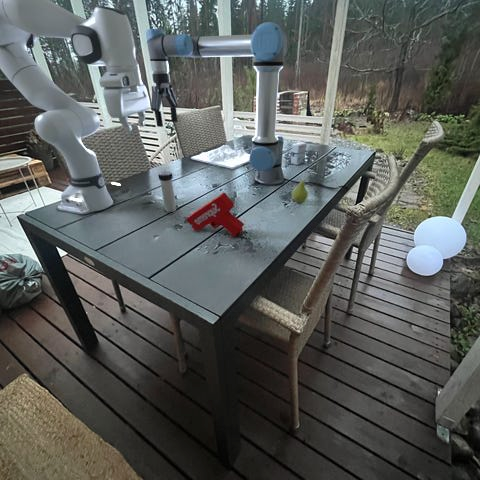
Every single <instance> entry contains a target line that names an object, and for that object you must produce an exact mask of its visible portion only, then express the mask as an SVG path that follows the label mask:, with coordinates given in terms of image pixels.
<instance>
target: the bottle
mask: <svg viewBox="0 0 480 480" xmlns="http://www.w3.org/2000/svg"><path fill="white" fill-rule="evenodd" d="M159 182H160V186H161V192H162V198H163V204H164V210H165V212H167V213H174V212H176V211H177V203H176V197H175V190H174V185H173V183H174V182H173V178H172V179H171V180H166V181H162V180H160V179H159Z"/></svg>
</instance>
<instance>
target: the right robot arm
mask: <svg viewBox="0 0 480 480" xmlns="http://www.w3.org/2000/svg"><path fill="white" fill-rule="evenodd" d="M145 36H146V46H147V50H148V55H149V63H150V69H151V72H152V74H151V76H152V83H153V84H155V85H152V86H151V99H150V100H151V102H150V110H151V111H152V112H154V117H155V121H156V127H158V128H163V127H164V123H163V116H162V111H161V106H162V102H163V99H164V98H166V100H167V102H168V103H169V106H170V109H169V110H170V116H171V117H170V118H171V122H172V123H173V122H174V123H178V122H179V121H178V114H177V108H178V107H179V102H178V99H177V97H176V94H175V91H174V87H173V84H170V83H171V75H170V73H169V72H170V68H169V60H168V57H175V58H176V57H177V58H178V57H179V58H180V57H182V58H211V57H212V58H218V57H219V58H220V57H221V58H222V57H224V58H225V57H226V58H227V57H229V58H230V57H253V68H254V69H255V71H256V107H255V108H256V110H255V135H254V136H253V137H252V139H251V151H250V153H249V154H250V156H249V160H250V162H249V163H250V166H251V167H252V168H253V169H254V170H256V172H255V173H254V175H255V178H254V181H255V183H258V184H259V185H262V186H263V185H264V186H279V185H281V184H283V183H284V181H286V182H291V183H295V184H299V183H300V182H301V181H296V180H292V179H288V178H285V175H284V172H283V171H284V170H283V167H282V165H283V154H284V153H283V152H284V137H283V135H280V134H279V135H278V134H276V129H277V128H276V127H277V113H278V112H277V111H278V95H279V80H280V79H279V77H280V71H281V70H282V69H283V68H284V61H285V60H284V59H285V56H286V54H287V52H288V49H289V47H290V46H289V45H290V39H289V35H288V33H287V31H286V30H285V29H284V28H283V27H281V26H280V25H278V24H277V23H276V22H271V21H268V22H267V21H266V22H262V23H261V24H259V25H258V26H257V27H256V28H255V29H254V30H253V32H252V34H231V35H230V34H228V35H208V36H190V35H189V34H188V33H178V34H165V30H164V29H162V28H147V29H146V31H145ZM305 184H311V185H312V184H313V185H318V186H321V187H323V188H326V189H331V190H336V189H338V188H334V186H333V187H332V186H327V185H324V184H322V183H319V182H313V181H305ZM338 187H340V188H345V189H346V190H349V188H348V186H346V185H339V186H338Z"/></svg>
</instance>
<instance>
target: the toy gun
mask: <svg viewBox="0 0 480 480" xmlns="http://www.w3.org/2000/svg"><path fill="white" fill-rule="evenodd" d="M234 207H235V203H234V202H233V201H232V199H231V198H230V197H229V196H228V194H227V193H226V192H222V193H221V194H219V195H218V196H216V197H214V198H213V199H211V200H210V201H208V202H207V203H205V204H204V205H202V206H201V207H200V208H198V209H197V210H195V211H193V212H192V213H190V215H189V216H188V217H187V218H186V221H187V223H188V224H189V225H190V226H191V228H192V229H193V231H197V232H198V231H200V230H202V229H203V228H205V227H207V226H208V225H210V226H211V228H212V229H217V228H219V227H220V226H221V227H223V228H224V229H225V230H226V231H227V232H229V234H231V237H232V238H234V237H235V236H240V235H241V233H242V231H243V230H244V229H243V227H244V225H245V223H244V222H243V221H241V220H240V219H239V218H237V217H236V216H235V215H234V214H233V213H232V212H231V210H232V209H233V208H234Z"/></svg>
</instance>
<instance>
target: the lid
mask: <svg viewBox="0 0 480 480" xmlns="http://www.w3.org/2000/svg"><path fill="white" fill-rule="evenodd" d="M157 175H158V180H159V181H160V180H162V181H166V180H171V179H172V180H173V178H174V176H173V172H172V171H170V170H163V171H159V172H158V173H157Z"/></svg>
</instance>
